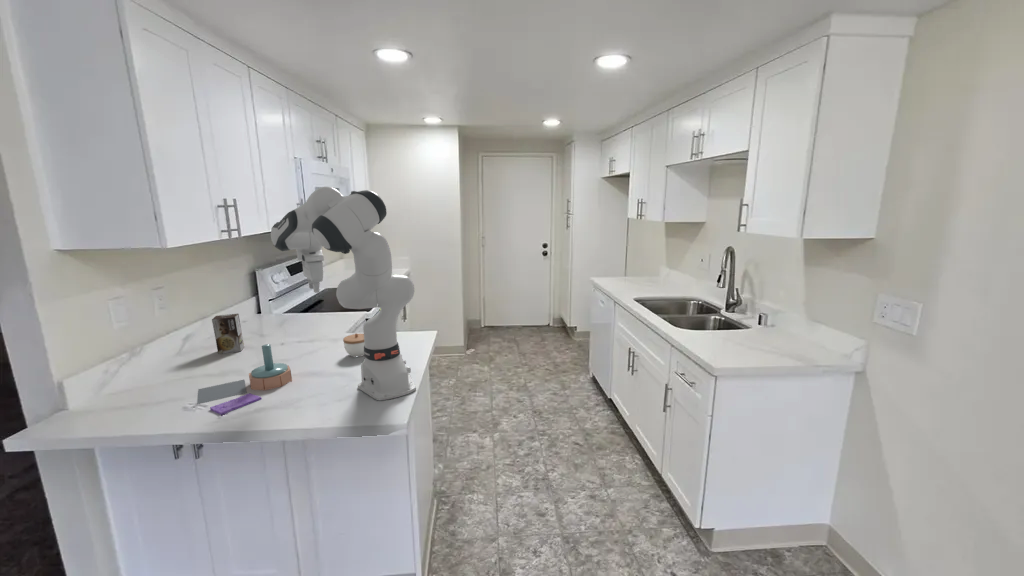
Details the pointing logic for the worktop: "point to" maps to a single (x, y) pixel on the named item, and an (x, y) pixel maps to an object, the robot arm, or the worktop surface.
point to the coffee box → (228, 333)
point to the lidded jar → (354, 344)
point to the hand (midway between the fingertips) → (314, 290)
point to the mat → (221, 391)
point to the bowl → (270, 381)
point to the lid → (268, 365)
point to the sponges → (235, 403)
